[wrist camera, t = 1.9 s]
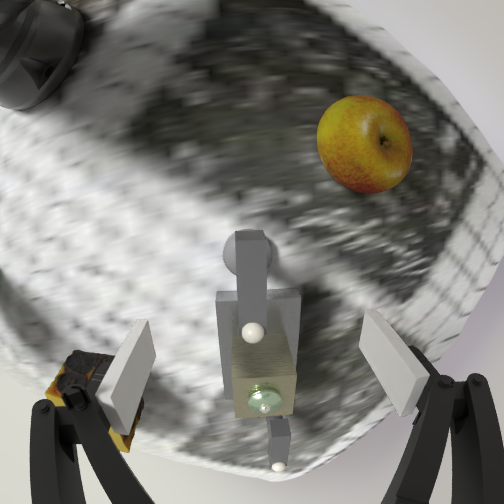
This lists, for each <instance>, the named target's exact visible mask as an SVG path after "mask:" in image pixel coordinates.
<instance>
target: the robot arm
mask: <svg viewBox="0 0 504 504" xmlns="http://www.w3.org/2000/svg"><path fill="white" fill-rule="evenodd" d="M83 37H84V21H83V18H82V15H81V14H80V12H79V11H78V10H76V9H75V8H74V7H73V6H71V5H70V4H69V3H67V2H64V1H59V0H0V106H2V107H4V108H8V109H16V110H23V109H28V108H31V107H33V106H35V105H37V104H39V103H40V102H42V101H43V100H44V99H46V98H47V97H48V96H49V95H50V94H51V93H52V92H53V91H54V90H55V89H56V88H57V87H58V86H59V85H60V84H61V82H62V81H63V80H64V78H65V77H66V76H67V74H68V73H69V71H70V69H71V68H72V66H73V64H74V62H75V60H76V58H77V56H78V54H79V51H80V49H81V45H82V42H83ZM359 348H360V350H361V351H362V353H363V355H364V356H365V358H366V360H367V361H368V363H369V365H370V366H371V368H372V370H373V371H374V373H375V375H376V377H377V378H378V380H379V382H380V383H381V385H382V387H383V389H384V390H385V392H386V394H387V396H388V397H389V399H390V401H391V403H392V404H393V406H394V408H395V410H396V412H397V413H398V415H399V417H404V416H407V415H410V414H412V413H413V411H414V409H415V407H417V408H418V410H419V412H418V414H417V416H416V418H415V420H414V422H413V425H414V426H413V429H412V432H411V435H410V438H409V440H408V443H407V446H406V448H405V451H404V454H403V456H402V459H401V461H400V464H399V466H398V468H397V471H396V473H395V475H394V478H393V480H392V482H391V484H390V486H389V488H388V490H387V492H386V494H385V497H384V498H383V500H382V502H381V504H429V500H430V497H431V494H432V491H433V488H434V485H435V482H436V479H437V476H438V472H439V469H440V465H441V462H442V458H443V454H444V450H445V446H446V442H447V437H448V432H449V427H450V431H451V444H452V445H451V446H452V502H451V504H504V447H503V442H502V436H501V431H500V426H499V422H498V418H497V414H496V410H495V406H494V402H493V398H492V395H491V392H490V388H489V385H488V381H487V379H486V378H485V377H484V376H483V375H480V374H477V373H473V374H470V375H469V376H468V378H467V380H466V381H465V382H464V381H463V382H455V381H454V379H452V378H451V377H449V376H447V375H440V374H439V373H438V372H437V370H436V369H435V368H434V367H433V365H432V364H431V363H430V362H429V361H428V359H427V358H426V357H425V356H424V355H423V353H422V352H421V351H420V350H419V349H417V348H416V347H414V346H413V345H412V346H407V345H406V344H405V343H404V342H403V340H402V339H401V338H400V337H399V336H398V334H397V333H396V332H395V331H394V330H393V328H392V327H391V326H390V325H389V324H388V322H387V321H386V320H385V319H384V318H383V317H382V315H381V314H380V313H379V312H378V311H377V309H371V310H365V315H364V321H363V326H362V332H361V337H360V342H359ZM155 358H156V354H155V350H154V345H153V341H152V337H151V332H150V328H149V323H148V320H143V319H136V320H135V322H134V324H133V326H132V327H131V329H130V331H129V333H128V334H127V336H126V338H125V340H124V341H123V343H122V345H121V347H120V349H119V350H118V352H117V354H116V356H115V358H114V360H113V361H112V362H104V363H102V364H101V365H100V366H99V367H98V368H97V370H96V371H95V373H94V375H93V377H92V378H91V379H92V380H90V382H89V384H88V386H87V387H86V388H85V387H84V386H82V385H80V384H72V385H69V386H67V387H65V388H64V389H63V391H62V393H61V398H62V400H63V402H64V404H65V405H66V406H55V405H54V403H53V402H52V401H51V400H49V399H42V400H39V401H38V402H36V403H35V404H34V406H33V408H32V416H31V430H30V482H31V483H30V484H31V497H32V504H86V501H85V497H84V492H83V486H82V481H81V475H80V469H79V464H78V456H77V447H76V444H82V446H83V448H84V451H85V453H86V455H87V457H88V459H89V462H90V464H91V466H92V467H93V470H94V472H95V473H96V476H97V478H98V479H99V481H100V483H101V485H102V487H103V489H104V490H105V492H106V494H107V496H108V497H109V499H110V501H111V502H112V504H155V503H154V501H153V500H152V499H151V498H150V496H149V495H148V494H147V492H146V491H145V489H144V488H143V486H142V485H141V484H140V482H139V481H138V479H137V478H136V477H135V475H134V473H133V472H132V470H131V469H130V467H129V466H128V464H127V463H126V461H125V459H124V458H123V457H122V455H121V453H120V451H119V450H118V448H117V446H116V444H115V443H114V441H113V439H112V437H111V436H110V434H109V430H110V427H112V429H113V431H114V433H117V434H123V435H129V433H130V430H131V427H132V424H133V421H134V418H135V415H136V412H137V409H138V406H139V403H140V400H141V397H142V394H143V391H144V388H145V385H146V383H147V380H148V377H149V374H150V371H151V369H152V366H153V363H154V360H155Z"/></svg>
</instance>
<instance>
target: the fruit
mask: <svg viewBox="0 0 504 504" xmlns="http://www.w3.org/2000/svg"><path fill="white" fill-rule="evenodd" d="M317 147H318V152H319V156H320V158H321V160H322V163H323V165H324V167H325V168H326V169H327V171H328V172H329V173H330V175H331V176H332V177H333V178H334V179H335V180H336V181H338V182H339V183H340V184H342V185H343V186H345V187H347V188H349V189H351V190H353V191H355V192H359V193H368V194H371V193H378V192H383V191H386V190H388V189H391V188H393V187H394V186H396V185H397V184H398V183H400V182H401V181H402V179H403V178H404V177H405V176H406V174H407V173H408V171H409V168H410V166H411V162H412V154H413V148H412V141H411V137H410V133H409V130H408V127H407V125H406V123H405V121H404V119H403V118H402V116H401V115H400V114H399V112H398V111H397V110H396V109H395V108H393V107H392V106H391V105H390V104H388V103H387V102H385V101H383V100H381V99H379V98H375V97H372V96H365V95H354V96H348V97H345V98H342V99H340V100H338V101H336V102H335V103H333V104H332V105H331V106H330V107H329V108H328V109H327V110H326V111H325V113H324V114H323V116H322V118H321V120H320V122H319V125H318V129H317Z"/></svg>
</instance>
